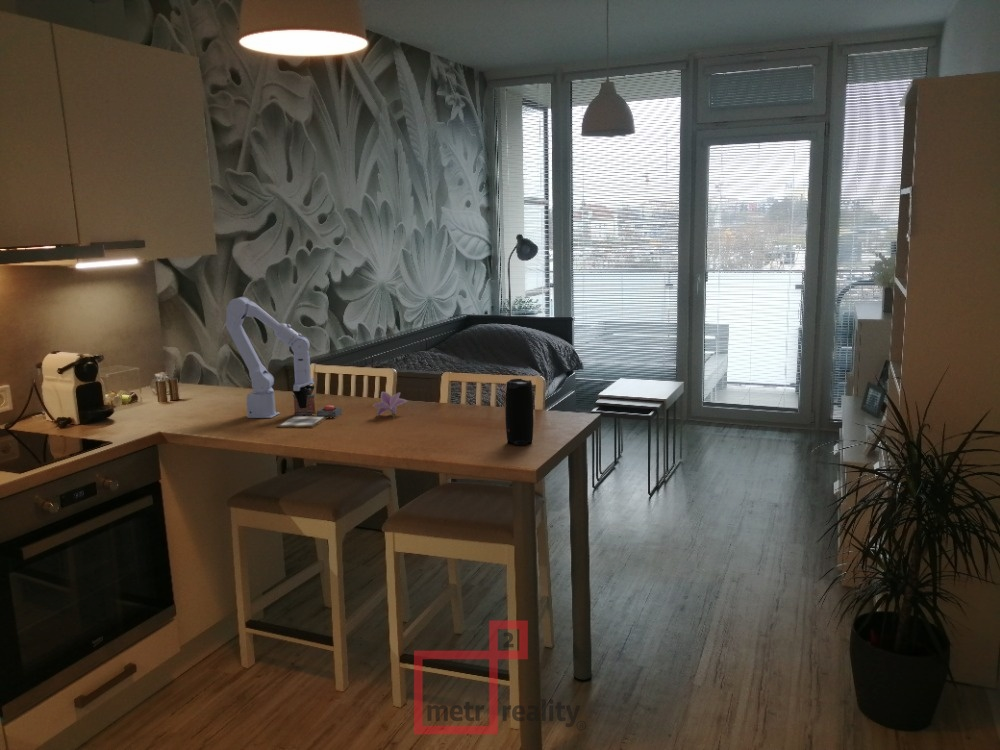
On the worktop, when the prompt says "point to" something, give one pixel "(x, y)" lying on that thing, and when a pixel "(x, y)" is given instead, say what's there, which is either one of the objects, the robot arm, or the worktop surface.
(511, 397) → the portable speaker
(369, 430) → the worktop surface
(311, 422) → the board
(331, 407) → the button
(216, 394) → the worktop surface
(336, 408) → the button housing
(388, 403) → the lily
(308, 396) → the lighter
